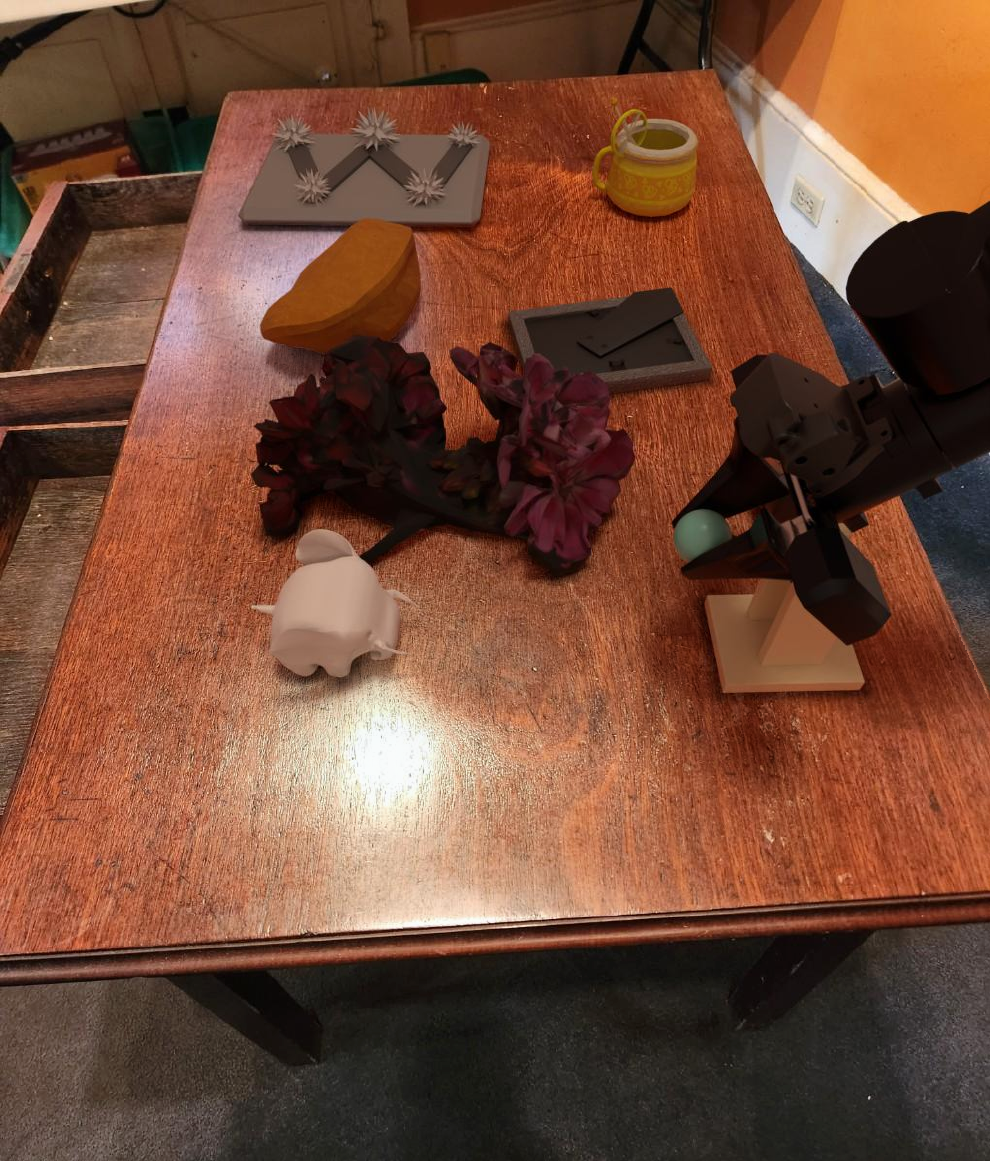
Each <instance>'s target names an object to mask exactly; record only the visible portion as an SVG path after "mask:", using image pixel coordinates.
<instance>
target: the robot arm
mask: <svg viewBox="0 0 990 1161" xmlns="http://www.w3.org/2000/svg"><path fill="white" fill-rule="evenodd" d="M845 298H846V301H847V303H848V306H849V307H850V308H851V310H852V311H853V313H854V314H855V316H856V317H857V318H858V320H859V321H860V323H861V325H862V326H863V327H864V329H865V331H866V332H867V333H868V335H869V336H870V338H871V339H872V341H873V342H874V344H875V345H876V347H877V348H878V351H880V353H881V354H882V356H883V358H884V359H885V360H886V362H887V363H888V365H889V366H890V368H891V370H892V371H893V373H894V374H895V375H896V377H898V378H896V379H894V380H893V381H891V382H889V383H887V384H885V385H883V383H881V381H880V379H879V378H878V377H877V375H876V374H875V373H873V374H871V375H869V376H867V375H863V376H860V377H858V378H856V379H855V380H853V381H851V382H850V383H847V384H844V385H838V384H836V383H835V382H833V381H831V380H830V379H829V378H828V377H826V376H825V375H824V374H822V373H820V372H818V371H816V370H815V369H812V368H810V367H807V366H805V365H803V364H801V363H799V362H797V361H795V360H792V359H790V358H789V357H787V356H785V355H783V354H781V353H777V352H769V353H768V354H755V355H754V356H752V357H750V358H749V359H747V360H746V361H743V363H741V364H740V365H737V366H736V367H734V368H733V369H731V370H730V374H731V377H732V381H733V384H734V387H735V390H734V391H733V392H732V393H731V394H730V396H729V403H730V405H731V407H732V408H735V413H736V417H734V418H735V419H734V420H733V428H734V429H733V437H732V441H731V447H730V451H729V454H728V456H727V457H726V458H725V460H724V461H723V462H722V464H721V465H720V466H719V467H718V469H717V470H716V472H715V473H714V474H713V475H712V476H711V477H710V479H708V481H707V482H706V483H705V484H704V485H703V486H702V488H700V490H699V491H697V493H696V494H695V495H694V496H693V497H692V498H691V500H689V502H688V503H687V504H686V505H685V506H684V507H683V508H682V510H680V512H679V513H678V514H677V515H676V516H675V517H674V518H673V519H672V521H671V525H672V529H674V530H675V527H676V525H677V523H678V522H679V521H680V519H681V518H682V517H684V516H685V515H686V514H688V513H690V512H692V511H695V510H700V509H706V510H711V511H714V512H717V513H718V514H720V515H721V516H722V517H724V518H725V520H727V519H729V518H732V517H735V516H737V515H740V514H743V513H745V512H749V511H751V510H753V509H756V508H759V507H760V509H759V511H758V513H757V515H755V516H756V517H755V519H754V520H753V522H752V524H751V526H750V527H749V529H747V530H746V531H744V532H742V533H740V534H738V535H735V536H736V537H734V538H732V539H730V540H728V541H726V542H724V543H723V544H721V545H719V546H717V547H715V548H713V549H711V550H709V551H707V552H705V553H703V554H701V555H699V556H698V557H696V558H695V559H693V560H692V561H690V562H689V563H688V562H686V563H685V564H684V565H682V566H681V568H680V574H681V576H683V577H684V578H686V579H687V580H688V581H689V580H690V581H698V580H699V581H704V580H705V581H706V580H746V579H747V580H751V579H753V580H755V579H756V580H757V579H758V580H760V579H774V580H787V581H792V582H793V585H794V589H795V592H796V595H797V597H798V598H799V600H800V602H801V604H802V605H803V607H804V608H805V609H806V610H807V611H808V612H809V613H810V614H811V615H812V616H814V617H815V618H816V619H817V620H818V621H819V622H820V623H821V624H823V625H824V626H825V627H826V628H827V629H828V630H829V631H830V632H832V633H833V634H834V635H835V636H836V637H837V638H838V639H840V640H841V641H842V642H843V643H844V644H845V645H846V646H848V645H851V644H852V645H854V644H857V643H859V642H861V641H863V640H866V639H869V638H871V637H875V636H877V634H879V632H880V631H881V630H882V628H883V627H884V626H885V625H886V623H887V622H888V621H889V620H890V618H891V617H892V612H891V609H890V607H889V605H888V602H887V599H886V596H885V594H884V591H883V588H882V585H881V583H880V580H879V578H878V575H877V573H876V570H875V567H874V564H872V562H871V561H870V560H869V559H868V558H867V557H866V556H865V555H864V554H863V552H861V551H860V549H859V548H858V547H857V546H856V545H855V544H854V543H853V542H852V541H851V540H850V538H849V539H848V538H847V537H846V536H845V535H844V533H843V532H842V531H841V530H840V528H839V525H838V524H839V523H842V522H843V524H844V525H845V526H846V527H847V528H848V529H849V530H850V531H851V534H853V533H856V532H857V531H860V530H862V529H864V528H866V527H868V526H870V525H869V521H868V519H867V516H866V514H865V513H866V512H867V511H870V510H872V509H874V508H876V507H878V506H881V505H883V504H884V503H885V504H886V503H887V502H889V501H892V500H893V499H896V498H898V497H899V496H901V495H904V494H906V493H908V492H910V491H912V490H914V489H916V490H917V492H918V493H919V495H920V496H921V497H922V499H923V500H927V499H929V498H930V497H933V496H935V495H937V494H940V493H942V492H943V491H944V489H943V488H942V486H941V483H940V480H939V479H938V478H939V477H942V476H943V475H945V474H948V473H950V472H952V471H955V469H958V468H960V467H963V466H965V465H967V464H969V463H971V462H973V461H975V460H978V459H979V458H982V457H983V456H986V455H988V454H990V200H988V201H987V202H985V203H983V204H982V205H981V206H978V207H977V208H976V209H974V210H973V211H970V212H966V211H960V210H943V211H936V212H931V213H929V214H925V215H921V216H918V217H917V218H915V219H912V220H910V221H908V220H902V221H900V222H898V223H896V224H895V225H892V226H891V227H890V228H888V229H887V230H886V231H884V232H883V233H882V234H880V236H878V237H877V238H876V239H874V240H873V241H872V243H871V244H870V245H868V246H867V247H866V248H865V250H864V251H863V252H861V254H860V255H859V257H858V258H857V259H856V261H855V262H854V264H853V265H852V268H851V270H850V272H849V274H848V276H847V280H846V284H845ZM789 495H791V498H792V501H793V504H794V507H795V510H796V513H797V517H796V518H794V519H792V520H791V519H789V520H787V521H785V522H783V523H780V522H779V521H778V520H777V519H776V518H775V517H774V516H773V515H772V514H771V513H770V512H769V511H768V510H767V508H766V507H765V506H764V505H765V504H767V503H770V502H773V501H775V500H778V499H781V498H783V497H786V496H789ZM809 495H811V499H812V501H813V502H812V503H813V505H814V507H811V503H810V501H809V497H808V496H809ZM761 506H762V507H761Z"/></svg>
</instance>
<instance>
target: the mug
mask: <svg viewBox="0 0 990 1161" xmlns="http://www.w3.org/2000/svg"><path fill="white" fill-rule="evenodd" d="M609 102H610V105H611V106H613V107H614V109H615V111H616V113H617V115H618V119H617V121H616V123H615V124H614V126H613V129H612V132H611V135H610V145H608V146H605V147H603V148H601V149H600V150H599V151H598V153H596V155H595V159H594V162H593V166H592V170H591V174H592V180H591V181H592V184H593V186H594V187H595V188H596V189H597V190H599V191H602V192H604V193H605V194H606V195H608V197H609V199H610V200H611V203H613V204H614V205H616V206H617V207H618V208H619V209H621V210H622V211H624V212H626V213H630V214H632V215H635V216H639V217H651V218H653V217H663V216H664V217H666V216H668V215H671V214H673V213H676V212H678V211H680V210H682V209H683V208H685V207H686V206H687V205H688V204H689V202H690V201H691V199H692V197H693V196H694V193H695V188H696V182H697V181H696V179H697V164H698V155H697V149H698V148H699V137H698V135H697V134H696V133H695V132H694V130H693V129H692V128H690V127H689V126H687V125H685V124H683V123H681V122H679V121H677V120H671V119H667V118H665V119H664V118H647V116H646V114H645V113H644V111H642V110H640V109H636V108H633V109H629V110H627V111H625V112H624V113H623V114H621V111H620V109H619V107H618V99H617V98H616V97H615V96H612V97H611V98H610V101H609ZM633 114H634V115H633ZM631 115H633V118H632V121H631V123H627V121H626V119H627V118H628V117H629V116H631ZM640 117H641V118H642V119H640ZM639 119H640V120H639ZM621 125H622V127H623V128H622V129H621V130H620V131H619V132H618V130H619V128H620V126H621ZM617 132H618V133H617ZM608 154H612V158H611V162H610V166H609V172H608V177H607V180H606V181H605V182H604V183H603V182H601V181H600V179H599V178H600V177H599V171H600V167H601V166H600V165H601V162H602V159H603V158H604V157H605V156H606V155H608Z"/></svg>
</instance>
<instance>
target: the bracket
mask: <svg viewBox="0 0 990 1161" xmlns="http://www.w3.org/2000/svg"><path fill="white" fill-rule="evenodd" d="M838 525H839V528H840V530H841V531H842V532H843V533H844V535H845V536H846V537H847V538H848V539H849V540H850V538H851V536H852V532H851V531H850V530H849V529H848V528H847V527H846V526H845V525H844V524H843V523H839V524H838ZM758 580H759V581H758V583H757V586H756V588H755V590H754V593H753V594H752V593H751V594H750V593H749V594H747V593H745V594H708V595H706V598H705V600H704V609H705V614H706V618H707V619H706V620H707V623H708V624H707V625H708V628H709V633H710V638H711V642H712V647H713V653H714V657H715V662H716V667H717V671H718V677H719V682H720V687H721V691H722V693H723V694H728V693H733V694H734V693H776V692H777V693H778V692H779V693H780V692H781V693H782V692H823V691H824V692H826V691H828V692H829V691H830V692H831V691H859V690H861V688H862V687H863V686H864V684H865V682H866V680H865V678H864V675H863V672H862V669H861V666H860V663H859V660H858V657H857V654H856V651H855V648H854V644H851V645H848V646H846V645H845V644H844V643H843V642H842V641H841V640H840V639H838V638H837V637H836V636H835V635H834V634H833V633H832V632H830V631H829V630H828V629H827V628H826V627H825V626H824V625H823V624H821V623H820V622H819V621H818V620H817V619H816V618H815V617H814V616H812V615H811V614H810V613H809V612H808V611H807V610H806V609H805V608H804V607H803V605H802V604H801V602H800V600H799V598H798V597H797V595H796V592H795V589H794V585H793V582H792V583H790V581H787V580H774V579H758Z"/></svg>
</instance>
